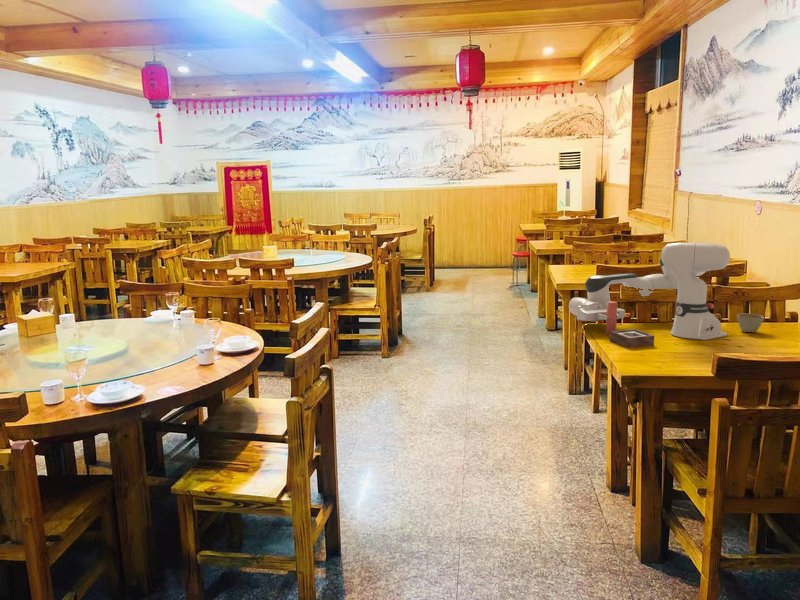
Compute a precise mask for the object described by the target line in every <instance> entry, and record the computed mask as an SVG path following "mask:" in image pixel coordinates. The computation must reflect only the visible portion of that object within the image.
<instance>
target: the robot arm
mask: <svg viewBox="0 0 800 600" xmlns="http://www.w3.org/2000/svg"><path fill="white" fill-rule="evenodd" d="M730 260H731V253H730V250H729V249H728V248H727V247H726V246H725V245H722V244H717V243H708V242H707V243H705V242H703V243H702V242H672V243H666V245H664V247H663V248H662V250H661V253H660V259H659V261H658V263H659V266H660V268H661V270H662V273H655V274H653V273H652V274H648V275H644V276H640V277H639V276H638V275H637V274H636V273H632V272H626V273H624V272H623V273H614V274H604V275H599V274H598V275H597V274H596V275H591V276H589V277H588V278H587V279H586V281H585V283H584V287H585V290H586V293H587V294H586V295H587V298H585V297H578V296H577V297H572V298H571V299H570V301H569V303H568V309H569V311H570V313H571V314H572V315H574V316H576V320H577V321H582V322H583V321H584V322H593V323H596V322H599V321H601V320H602V321H603V320H604V321H606V320H609V316H607V302H610V301H611V297H610V290H609V288H610V286H611V285H615V284H617V285H618V284H622V285H623V286H624V287H625V286H627V287H634V288H636V289H638V288H640V289H643V290H639V293H640V294H641V296H643V297H644V296H649V294H651V293H652V292H653V291H649V290H648V289H651V290H654V289H676V290H677V291H676V295H677V297H676V301H675V306H674V310H675V315H674V320H673V325H672V327H671V330H670V334H671V335H672V336H675V337H679V338H682V339H683V338H684V339H693V340H702V341H707V340H712V339H717V338H722V337H726V336H728V335H727V332H726V331H723V330H722V325H721V321H720V320H719V319H718V318H717V316H715V315H714V314H712V312H710V309H711V310H712V309H714V307H715V305H714V304H713V303H707V291H708V285H707V283H706V282H705V281H704V280H703V279H702V278H701V279H700V278H699V277H700V276H702V275H704V274H705V273H707V272H711V271H717V270H718V271H719V270H723V269H725V268H726V267H727V266H728V265H729V262H730ZM625 314H626V310H625V309H623V308H619V307H617V319H616V320H620V319H624V318H625V316H626V315H625Z"/></svg>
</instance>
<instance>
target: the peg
mask: <svg viewBox="0 0 800 600" xmlns="http://www.w3.org/2000/svg"><path fill="white" fill-rule="evenodd" d="M617 308H618V302H617V301H611V300H610V302H607V316H609V320H605V321H606V324H605V325H606V326H605V335H606V336H609V335H610V331H617V320H618V319H617Z"/></svg>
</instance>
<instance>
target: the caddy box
mask: <svg viewBox="0 0 800 600" xmlns="http://www.w3.org/2000/svg"><path fill="white" fill-rule="evenodd" d="M611 341H612V343H614V342H615V343H614V344H616V343H617V345H619V346H621V347H624V346H625V348H626V349H632V348H631V347H633V348H640V347H639V346H643V347H650V345H652V346H654V345H655V335H653V334H651V333H648V332H645V331H642V330H639V329H636V328H633V329H621V330H616V331H610V336H609V342H611Z"/></svg>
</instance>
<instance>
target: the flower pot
mask: <svg viewBox="0 0 800 600" xmlns="http://www.w3.org/2000/svg"><path fill="white" fill-rule="evenodd" d="M736 319H737V322H738V326H739V328H740V330H741V332H743V331H744V332H743V333H745V332H755V333H756V332H757V331H758V330H759V329H760V328H761V325H762V323H763V321H764V319H765V317H764V316H763V315H761V314H756V313H755V314H754V313H748V312H747V313H745V312H744V313H738V314H736Z"/></svg>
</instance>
